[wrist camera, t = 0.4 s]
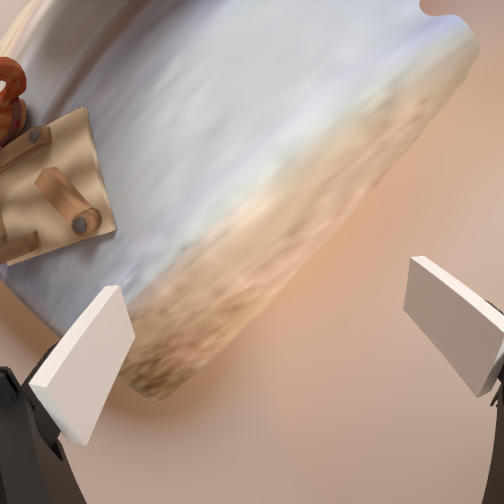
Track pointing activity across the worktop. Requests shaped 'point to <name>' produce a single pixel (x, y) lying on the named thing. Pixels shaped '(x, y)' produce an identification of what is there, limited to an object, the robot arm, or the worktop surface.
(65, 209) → the leg
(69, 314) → the worktop surface
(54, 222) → the seat
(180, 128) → the worktop surface
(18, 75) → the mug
